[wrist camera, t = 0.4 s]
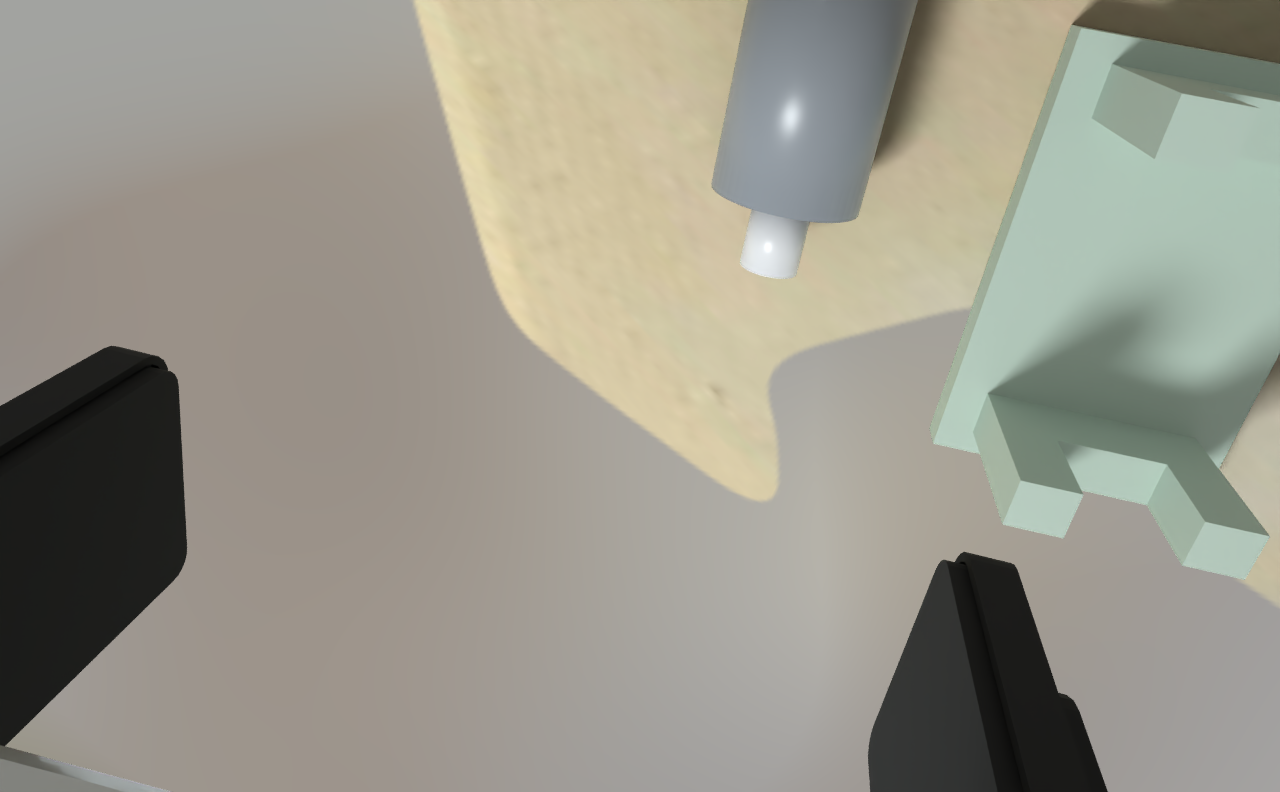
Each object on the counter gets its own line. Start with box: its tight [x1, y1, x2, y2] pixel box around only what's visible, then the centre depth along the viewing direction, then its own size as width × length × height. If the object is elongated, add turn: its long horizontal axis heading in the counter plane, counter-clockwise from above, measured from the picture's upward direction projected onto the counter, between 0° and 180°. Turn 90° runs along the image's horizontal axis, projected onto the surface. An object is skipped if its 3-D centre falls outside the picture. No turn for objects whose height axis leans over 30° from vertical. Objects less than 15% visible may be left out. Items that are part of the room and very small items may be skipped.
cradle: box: [930, 25, 1280, 580], centre depth 35 cm, size 18×12×9 cm, turn 171°
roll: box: [711, 0, 918, 279], centre depth 35 cm, size 16×6×6 cm, turn 171°
